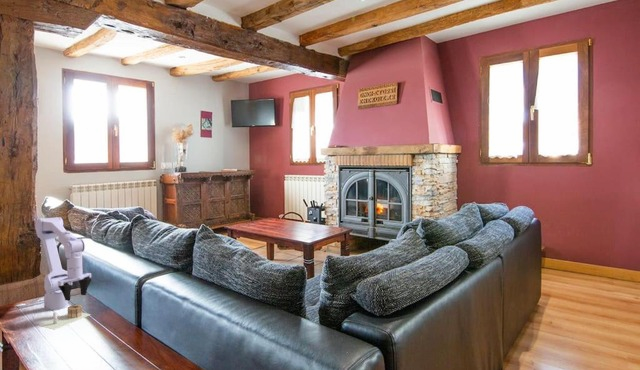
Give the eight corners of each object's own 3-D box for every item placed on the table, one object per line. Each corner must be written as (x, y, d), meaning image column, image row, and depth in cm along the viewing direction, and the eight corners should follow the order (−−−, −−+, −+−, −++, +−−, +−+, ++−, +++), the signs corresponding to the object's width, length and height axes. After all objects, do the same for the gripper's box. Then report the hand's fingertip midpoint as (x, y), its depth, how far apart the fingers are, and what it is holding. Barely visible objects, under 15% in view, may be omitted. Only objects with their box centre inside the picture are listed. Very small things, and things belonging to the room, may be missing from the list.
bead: (65, 316, 170) (65, 308, 170) (75, 312, 175) (76, 304, 175) (73, 319, 168) (73, 310, 168) (84, 314, 173) (84, 306, 173)
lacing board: (37, 327, 161) (37, 313, 161) (74, 313, 177) (75, 300, 177) (54, 332, 158) (54, 317, 158) (91, 317, 174) (91, 304, 174)
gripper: (65, 271, 163) (66, 303, 163) (96, 264, 176) (96, 293, 177) (53, 270, 165) (54, 301, 165) (84, 263, 179) (85, 292, 179)
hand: (75, 297), depth 171 cm, fingers open, 7 cm apart
